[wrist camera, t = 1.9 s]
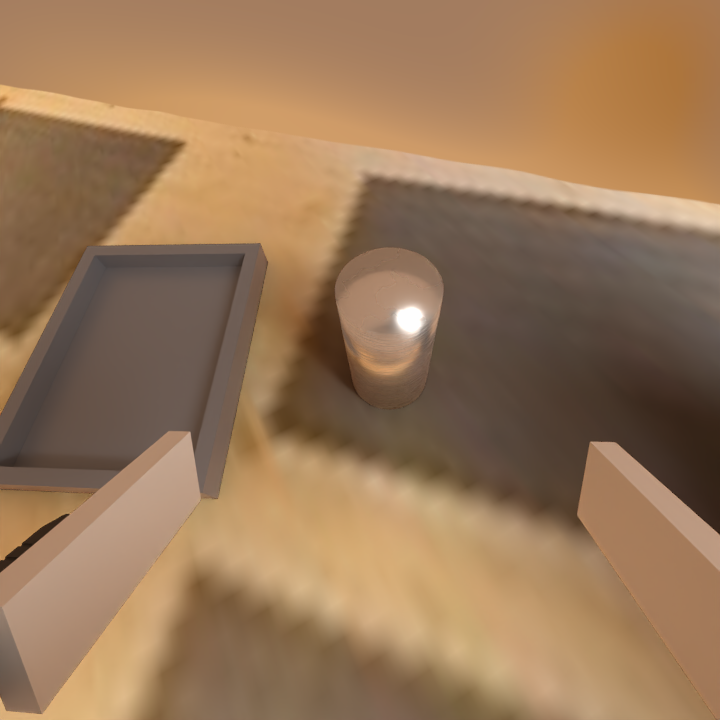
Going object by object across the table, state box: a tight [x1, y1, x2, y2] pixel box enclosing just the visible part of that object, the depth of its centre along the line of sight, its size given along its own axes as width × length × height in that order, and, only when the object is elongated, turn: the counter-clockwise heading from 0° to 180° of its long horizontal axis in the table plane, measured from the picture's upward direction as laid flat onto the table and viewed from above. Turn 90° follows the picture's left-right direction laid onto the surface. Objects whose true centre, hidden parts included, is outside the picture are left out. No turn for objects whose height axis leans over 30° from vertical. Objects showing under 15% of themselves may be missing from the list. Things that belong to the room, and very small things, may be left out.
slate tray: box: [0, 243, 268, 499], centre depth 32 cm, size 17×22×2 cm
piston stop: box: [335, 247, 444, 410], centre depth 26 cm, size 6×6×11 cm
